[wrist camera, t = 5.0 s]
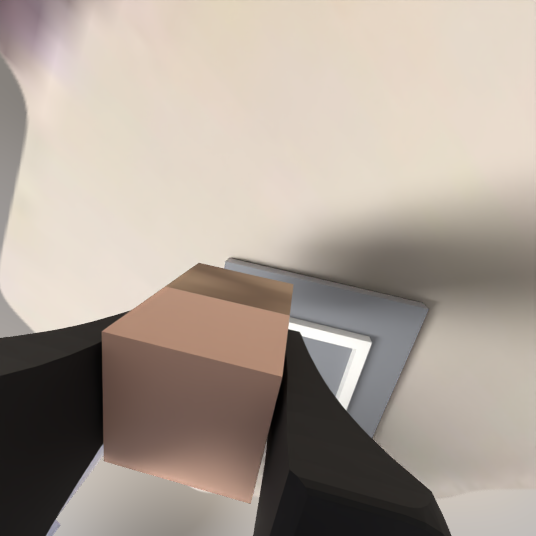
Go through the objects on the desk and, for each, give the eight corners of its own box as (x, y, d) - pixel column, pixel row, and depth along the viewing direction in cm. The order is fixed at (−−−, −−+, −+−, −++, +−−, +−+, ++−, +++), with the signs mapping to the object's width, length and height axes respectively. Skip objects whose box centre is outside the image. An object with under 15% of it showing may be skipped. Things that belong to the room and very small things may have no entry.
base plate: (206, 403, 24) (198, 420, 22) (229, 257, 19) (222, 264, 18) (361, 446, 23) (365, 467, 21) (422, 302, 18) (434, 314, 17)
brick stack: (189, 344, 13) (103, 461, 8) (198, 262, 12) (101, 331, 6) (274, 365, 13) (250, 503, 7) (293, 284, 12) (282, 376, 6)
